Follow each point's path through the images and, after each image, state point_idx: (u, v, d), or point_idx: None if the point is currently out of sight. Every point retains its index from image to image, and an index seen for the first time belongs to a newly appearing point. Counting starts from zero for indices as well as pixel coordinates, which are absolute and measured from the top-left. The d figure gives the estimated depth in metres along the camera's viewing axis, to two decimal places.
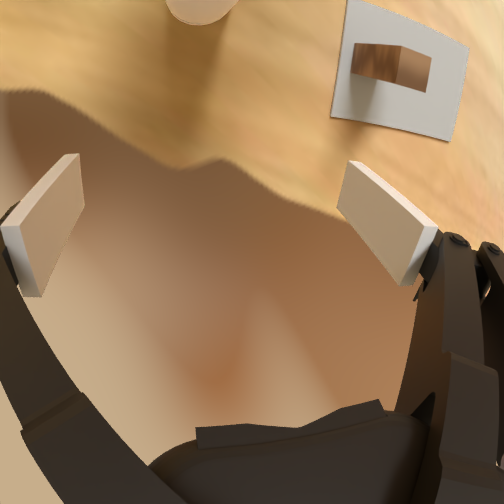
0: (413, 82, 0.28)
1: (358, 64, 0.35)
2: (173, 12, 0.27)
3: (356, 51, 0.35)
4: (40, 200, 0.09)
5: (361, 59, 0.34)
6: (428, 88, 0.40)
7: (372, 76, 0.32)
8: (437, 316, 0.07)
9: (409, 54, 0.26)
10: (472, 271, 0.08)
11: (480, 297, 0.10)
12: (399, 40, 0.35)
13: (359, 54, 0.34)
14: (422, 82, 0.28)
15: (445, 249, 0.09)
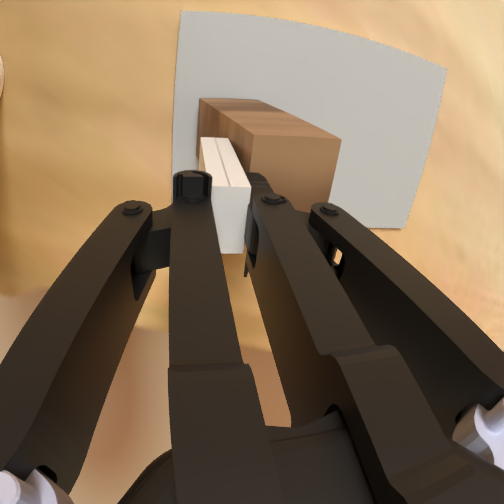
0: None
1: None
2: None
3: (200, 116, 0.21)
4: None
5: None
6: (361, 151, 0.27)
7: None
8: (289, 303, 0.07)
9: (278, 149, 0.14)
10: (304, 230, 0.09)
11: (329, 266, 0.11)
12: (295, 72, 0.22)
13: (203, 125, 0.21)
14: (315, 202, 0.16)
15: (263, 217, 0.09)
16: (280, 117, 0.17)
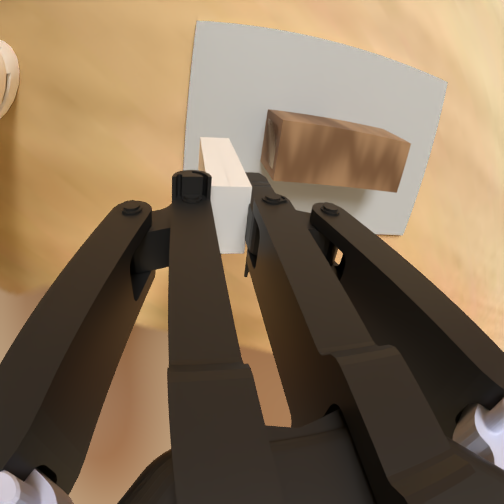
0: None
1: (303, 164, 0.22)
2: None
3: (293, 138, 0.21)
4: None
5: (312, 155, 0.22)
6: None
7: (346, 185, 0.24)
8: (289, 303, 0.07)
9: None
10: (304, 230, 0.09)
11: (330, 266, 0.11)
12: (303, 84, 0.23)
13: (305, 145, 0.22)
14: None
15: (263, 217, 0.09)
16: (351, 124, 0.24)
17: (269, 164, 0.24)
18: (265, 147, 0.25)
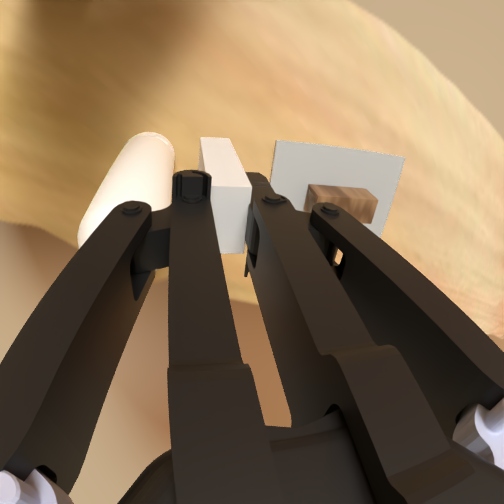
0: None
1: None
2: None
3: None
4: None
5: None
6: None
7: None
8: (289, 303, 0.07)
9: None
10: (304, 230, 0.09)
11: (330, 266, 0.11)
12: (326, 170, 0.50)
13: None
14: None
15: (263, 217, 0.09)
16: (348, 190, 0.51)
17: None
18: (307, 203, 0.52)
